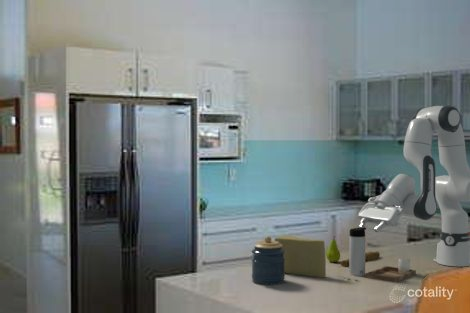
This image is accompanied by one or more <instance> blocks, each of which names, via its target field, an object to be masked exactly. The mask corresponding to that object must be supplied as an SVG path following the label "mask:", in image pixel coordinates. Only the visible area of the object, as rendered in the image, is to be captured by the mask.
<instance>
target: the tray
mask: <svg viewBox="0 0 470 313" xmlns="http://www.w3.org/2000/svg"><path fill="white" fill-rule="evenodd" d="M416 273H417V270H416V269H410V272H407V273H405V274H402V275H399V274H398V266H389V265H384V266H382V267H380V268H377V269H374V270H372V271H368V272H365V275H364V276H365V277H364V278H368V279H374V280H380V281H385V282H392V283H398V282H401V281H403V280H405V279H407V278H410V277H413V276H415V275H417V274H416Z"/></svg>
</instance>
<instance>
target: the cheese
mask: <svg viewBox="0 0 470 313" xmlns="http://www.w3.org/2000/svg"><path fill="white" fill-rule="evenodd" d="M274 241H277V242H279V243H280V244H282V245H283V246H282V247H281V248H282V249H283V250H284V251H285V253H284V254H283V257H284V259H285V261H284V274H292V275H300V276H305V277H311V276H312V278H313V277H314V278H320V279H323V278H324V279H325V278H326V275H327V274H326V271H327V268H326V265H327V264H326V262H327V261H326V260H327V256H326V248H325V241H324V240H322V239H317V238H316V239H314V238H305V237H303V238H302V237H298V236H294V235H289V234H285V235H280V236H276V237H274Z"/></svg>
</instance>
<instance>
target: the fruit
mask: <svg viewBox="0 0 470 313" xmlns="http://www.w3.org/2000/svg"><path fill="white" fill-rule="evenodd" d="M335 237H336V235H334V236H333V239H332V241H331V242H330V245H329V246H328V249H327V251H326V252H325V257H326V260H327V261H329V262H331V263H337V262H338V261H340V259H341V252H340V251H339V249H338V248H339V247H338V245H337V241H336V239H335Z"/></svg>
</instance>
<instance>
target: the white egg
mask: <svg viewBox="0 0 470 313" xmlns="http://www.w3.org/2000/svg"><path fill="white" fill-rule="evenodd" d="M397 262H398V263H397V264H398V266H397V268H398V274H399V275H402V274H405V273H407V272H410V268H411V267H410V266H411V265H410V263H411V260H410V259H409V258H406V257H402V258H398V261H397Z"/></svg>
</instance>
